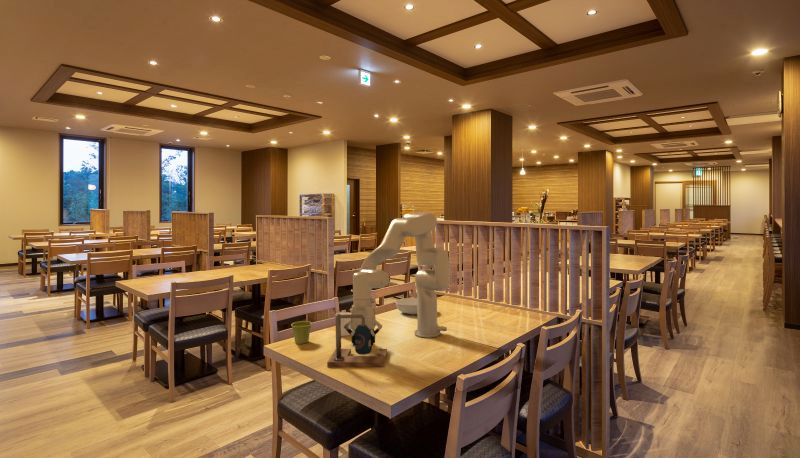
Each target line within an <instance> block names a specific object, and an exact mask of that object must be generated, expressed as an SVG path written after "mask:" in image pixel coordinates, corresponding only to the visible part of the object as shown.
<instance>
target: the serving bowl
mask: <svg viewBox="0 0 800 458" xmlns="http://www.w3.org/2000/svg"><path fill="white" fill-rule="evenodd" d="M395 307H396V308H397V310H398V311H399V312H400V313H404V314H406V313H407V315H414V316H415V315H416V316H417V297H403V298H400V299H399V298H398V299H397V300H395Z"/></svg>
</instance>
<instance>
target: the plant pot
mask: <svg viewBox="0 0 800 458" xmlns="http://www.w3.org/2000/svg"><path fill="white" fill-rule="evenodd" d="M312 324H313V323H312V322H311V321H309V320H308V321H307V320H300V321H295V322H292V323H291V324H290V326H291V327H292V331H293V338H294V343H295V344H298V345H302V344H308V343H309V341H310V332H311V328H312Z"/></svg>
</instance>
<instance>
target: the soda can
mask: <svg viewBox="0 0 800 458" xmlns="http://www.w3.org/2000/svg"><path fill="white" fill-rule="evenodd" d="M371 336H372V334H371V331H370V330H369V328H368V327H367V325H365V326H359V325H358V327H357V328H356V329H355V348H354V350H355V352H356V353H357V354H358V355H359V356H367V355H369V354H370V353H371V352H372V350H373V346H371Z"/></svg>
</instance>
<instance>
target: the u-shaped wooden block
mask: <svg viewBox="0 0 800 458" xmlns="http://www.w3.org/2000/svg"><path fill="white" fill-rule="evenodd" d="M351 354H352V348H341V356H342V357H344V360H342V361H334V357H336V348H335V349H334V350H333V352H332V354H331V356H330V357H329V358H328V360H327V362H326V363H327V366H326V367H327V368H385V363H386V360H387V357H388V348H378V351H377V354H376V355H351Z"/></svg>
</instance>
